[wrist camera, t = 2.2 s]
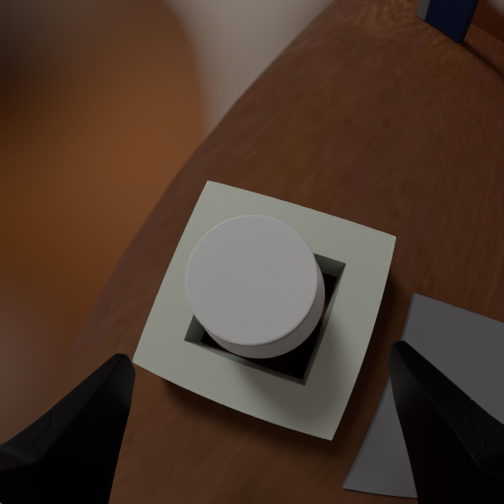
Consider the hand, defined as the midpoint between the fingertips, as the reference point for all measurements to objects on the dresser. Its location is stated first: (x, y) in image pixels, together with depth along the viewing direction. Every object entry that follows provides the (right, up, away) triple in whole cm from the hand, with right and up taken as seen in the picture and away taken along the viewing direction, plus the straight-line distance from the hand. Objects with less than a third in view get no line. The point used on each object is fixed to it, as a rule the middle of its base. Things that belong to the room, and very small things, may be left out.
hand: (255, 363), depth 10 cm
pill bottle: (+1, 0, +11) cm, 11 cm away
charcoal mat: (+14, -7, +7) cm, 17 cm away
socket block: (+1, 0, +10) cm, 10 cm away
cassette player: (+26, +34, +18) cm, 47 cm away
